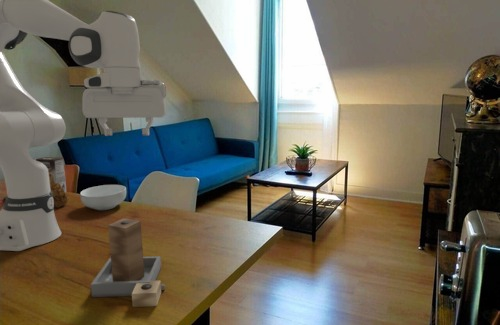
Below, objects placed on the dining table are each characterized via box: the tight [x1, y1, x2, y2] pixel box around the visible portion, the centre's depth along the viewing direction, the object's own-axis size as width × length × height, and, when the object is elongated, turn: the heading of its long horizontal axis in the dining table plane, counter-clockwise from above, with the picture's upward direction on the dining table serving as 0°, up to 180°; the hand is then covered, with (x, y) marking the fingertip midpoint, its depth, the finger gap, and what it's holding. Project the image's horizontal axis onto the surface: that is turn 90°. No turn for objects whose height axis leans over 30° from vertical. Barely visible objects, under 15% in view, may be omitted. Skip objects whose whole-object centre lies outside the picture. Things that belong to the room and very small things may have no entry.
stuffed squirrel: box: [49, 173, 69, 209], centre depth 139 cm, size 10×14×13 cm
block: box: [107, 217, 144, 282], centre depth 82 cm, size 5×5×14 cm
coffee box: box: [35, 156, 67, 193], centre depth 157 cm, size 9×6×16 cm
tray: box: [90, 255, 162, 298], centre depth 83 cm, size 13×13×3 cm
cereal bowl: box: [79, 184, 127, 211], centre depth 138 cm, size 17×17×7 cm
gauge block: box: [131, 279, 166, 308], centre depth 77 cm, size 6×7×3 cm
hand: (127, 135), depth 91 cm, fingers open, 8 cm apart
